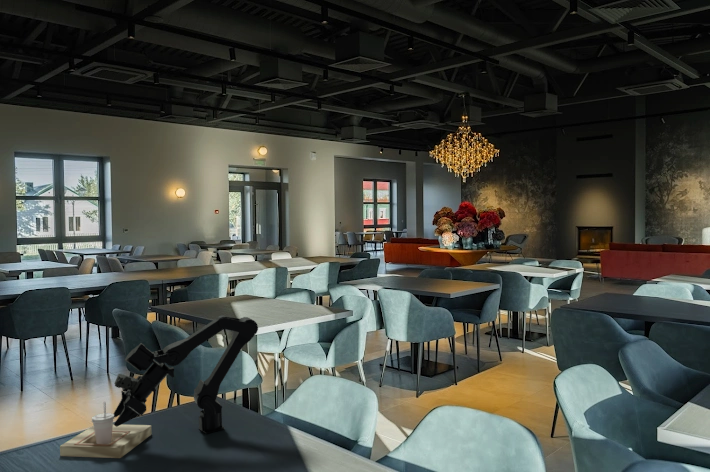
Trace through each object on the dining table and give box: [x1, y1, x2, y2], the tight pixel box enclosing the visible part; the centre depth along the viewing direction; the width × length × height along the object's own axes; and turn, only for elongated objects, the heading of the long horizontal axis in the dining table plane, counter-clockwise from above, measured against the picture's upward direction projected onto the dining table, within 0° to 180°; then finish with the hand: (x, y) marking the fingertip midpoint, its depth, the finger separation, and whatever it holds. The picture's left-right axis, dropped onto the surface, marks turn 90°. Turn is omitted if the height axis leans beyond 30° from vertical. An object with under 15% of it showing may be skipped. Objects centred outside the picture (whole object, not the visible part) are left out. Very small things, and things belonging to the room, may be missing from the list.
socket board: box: [59, 423, 153, 459], centre depth 181 cm, size 19×19×3 cm
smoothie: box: [91, 401, 115, 444], centre depth 178 cm, size 6×6×14 cm
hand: (114, 421), depth 180 cm, fingers open, 9 cm apart
